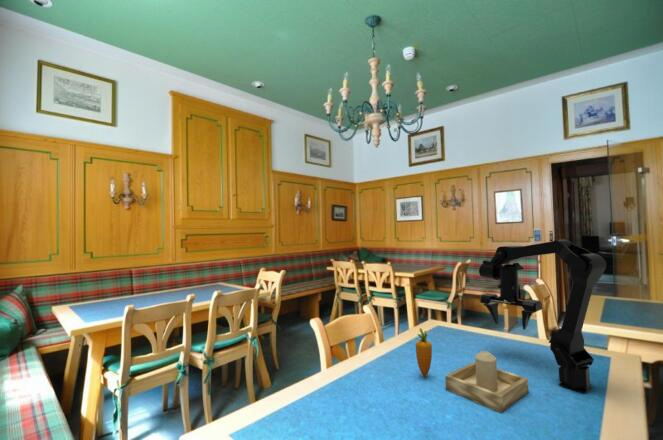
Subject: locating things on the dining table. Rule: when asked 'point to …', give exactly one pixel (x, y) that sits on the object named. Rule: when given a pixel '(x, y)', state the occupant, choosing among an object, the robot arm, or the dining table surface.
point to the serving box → (500, 400)
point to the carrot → (423, 353)
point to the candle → (486, 371)
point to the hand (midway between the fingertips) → (510, 326)
